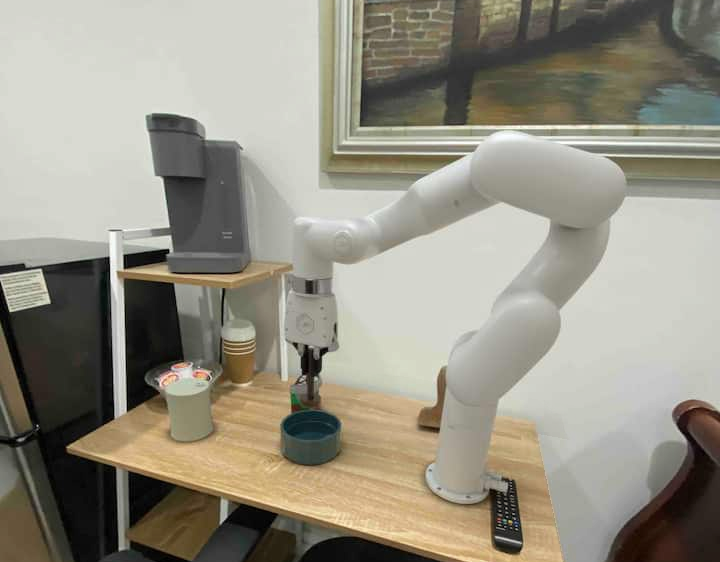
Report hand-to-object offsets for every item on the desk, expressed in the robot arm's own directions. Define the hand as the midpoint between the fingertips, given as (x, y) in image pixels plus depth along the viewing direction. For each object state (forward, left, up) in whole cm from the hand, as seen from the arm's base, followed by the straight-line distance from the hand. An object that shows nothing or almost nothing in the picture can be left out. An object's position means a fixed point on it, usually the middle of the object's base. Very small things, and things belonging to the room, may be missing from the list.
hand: (311, 373), depth 81 cm
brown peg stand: (0, 0, -7) cm, 7 cm away
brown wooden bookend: (-26, -25, -18) cm, 41 cm away
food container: (+8, -14, -18) cm, 25 cm away
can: (+28, +6, -18) cm, 34 cm away
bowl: (0, 0, -18) cm, 18 cm away
